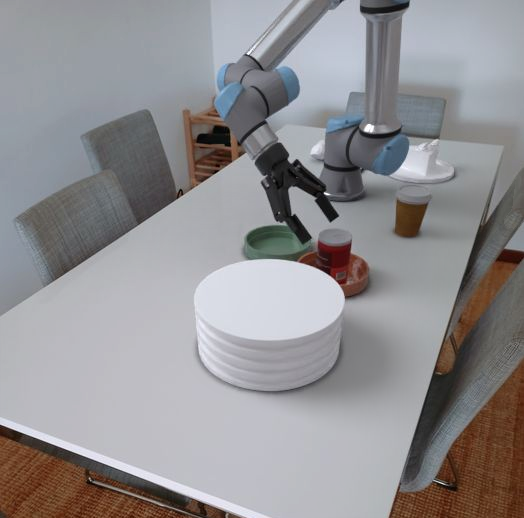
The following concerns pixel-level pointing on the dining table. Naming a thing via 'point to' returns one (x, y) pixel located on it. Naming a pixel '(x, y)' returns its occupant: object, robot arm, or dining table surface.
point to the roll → (318, 150)
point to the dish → (424, 165)
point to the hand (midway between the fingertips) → (321, 230)
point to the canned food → (334, 253)
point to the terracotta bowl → (356, 272)
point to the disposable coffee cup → (411, 209)
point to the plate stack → (269, 323)
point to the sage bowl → (274, 244)
